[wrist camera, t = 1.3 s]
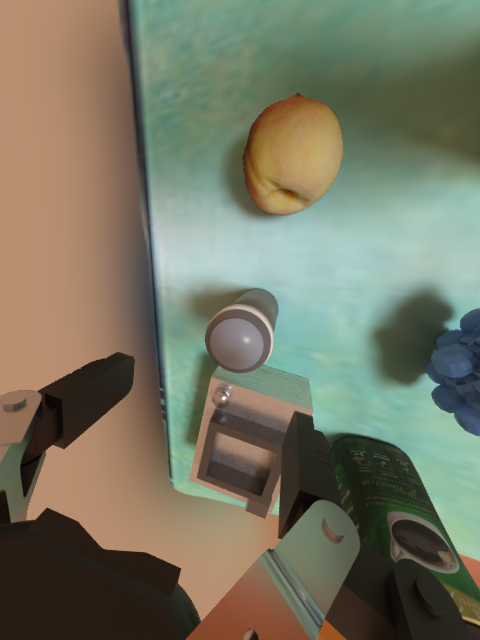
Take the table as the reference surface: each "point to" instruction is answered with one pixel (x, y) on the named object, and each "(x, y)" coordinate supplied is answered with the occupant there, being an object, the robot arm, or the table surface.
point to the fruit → (292, 155)
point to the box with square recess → (247, 433)
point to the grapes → (459, 372)
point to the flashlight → (243, 332)
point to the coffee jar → (401, 517)
